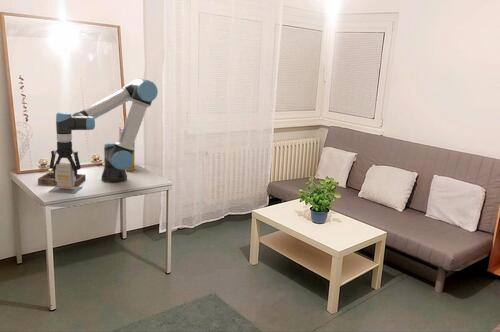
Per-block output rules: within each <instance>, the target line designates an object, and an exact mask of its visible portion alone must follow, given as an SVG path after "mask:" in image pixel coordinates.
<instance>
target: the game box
mask: <svg viewBox="0 0 500 332" xmlns="http://www.w3.org/2000/svg"><path fill="white" fill-rule="evenodd" d="M123 127H124V126H119V127H118V139H119V138H120V136H121V133H122V130H123ZM135 142H136V141H135ZM135 142H134V145H133V148H134V152H133V155H132V156H133V163H132V165H131V166H130V167H129V168H127V169H125V171H126V172H135Z"/></svg>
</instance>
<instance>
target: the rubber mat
mask: <svg viewBox="0 0 500 332" xmlns="http://www.w3.org/2000/svg"><path fill="white" fill-rule="evenodd" d="M81 189H83V186H78V187H77V186H74V187H72V188H63V187H57V186H56V185H55V186H54V187H52V188H51V189H50V190H49V191H48V193H56V194H58V193H59V194H72V195H73V194H77V192H79V191H80V190H81Z"/></svg>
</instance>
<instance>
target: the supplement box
mask: <svg viewBox="0 0 500 332" xmlns="http://www.w3.org/2000/svg"><path fill="white" fill-rule="evenodd" d="M73 170H74V169H73V167H72V165H71V164H70V162H69V163H68V162H60V163H59V164H56V176H57V187H63V188H72V187H74V186H75V182H73V176H72V171H73Z"/></svg>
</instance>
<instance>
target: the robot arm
mask: <svg viewBox="0 0 500 332" xmlns="http://www.w3.org/2000/svg"><path fill="white" fill-rule="evenodd" d="M157 87H158V86H157V85H156V84H155V83H154V82H153V81H151V80H149V79H144V78H137V79H135V80H133V81H130V83H127V84H126V85H123V87H122V88H121V89H120V90H118V91H115V92H114V93H113V94H111V95H109V96H107V97H105V98H103V99H101V100H99V101H98V102H95V103H94V104H92V105H90V106H88V107H86V108H84V109H82V110H81V111H77V112H74V113H72V114H71V112H68V111H66V112H64V111H60V112H57V113H56V114H55V116H56V117H55V120H56V121H55V127H56V129H55V130H56V150H54V149H53V150H51V151H50V153H51V157H50V162H49V163H50V164H49V169H52V171H53V172H52V173H54V175H55V181H57V176H56V164H59V163H61V160H62V159H66V160H67V161H68V162H69V163H70V164H71V165H72V167H73V169H74V170H73V171H72V176H73V182H75V181H76V176H77V174H78V170H81V169H82V167H81V163H80V158H79V151H74V150H73V142H72V140H73V136H72V135H73V134H72V131H91V130H92V131H93V130H94V129H95V128H96V120H95V119H98V118H99V117H101V116H103V115H105V114H107V113H108V112H111V111H112V110H114V109H116V108H118V107H119V106H121V105H124V104H125V103H127V102H131V106H130V109H129V112H128V114H127V116H126V120H125V122H124V124H123V126H122V127H123V130H122V133H121V136H120V138H119V137H118V141H116V142H106V143H105V144H104V148H103V151H104V152H103V153H104V159H103V160H104V161H103V163H104V167H103V171H102V174H101V181H103V182H104V183H105V182H106V183H112V184H113V183H122V182H123V183H124V182H127V181H128V174H127V171H126V170H125V169H127V168H129V167H130V166H131V165H132V163H133V156H132V155H133V152H134V153H135V151H134V148H133V145H134V142H136V138H137V137H138V133H139V130H140V128H141V125H142V121H144V117H145V113H146V111H147V108H150V107H151V106H152V103H153V101H154V100H155V99H156V98H157V96H158V92H159V91H158V88H157ZM56 155H58V156H56ZM56 157H57V159H56ZM73 157H74V159H73ZM55 160H56V161H55Z"/></svg>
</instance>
